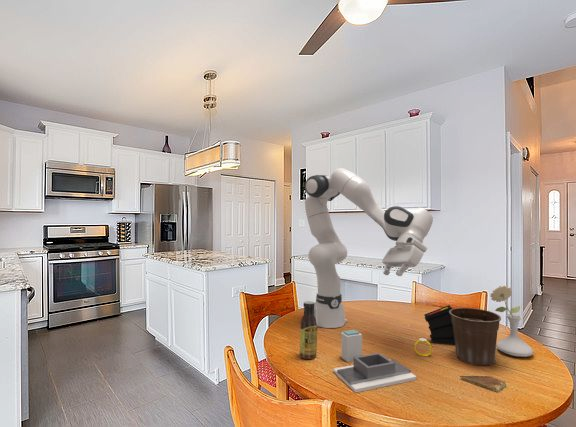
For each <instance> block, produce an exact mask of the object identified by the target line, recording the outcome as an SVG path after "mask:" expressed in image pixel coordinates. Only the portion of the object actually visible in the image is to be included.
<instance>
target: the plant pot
mask: <svg viewBox="0 0 576 427" xmlns="http://www.w3.org/2000/svg"><path fill="white" fill-rule="evenodd" d="M449 313H450V315H451V321H452V324H453V331H454V339H455V345H454V347H455V355H456V358H458V359H460V361H462V362H464V363H467V364H471V365H474V366H481V367H483V366H484V365H487V366H493V364H495V363H496V353H497V352H496V351H497V350H496V349H497V346H496V345H497V339H498V331H499V330H500V329H499V328H500V321H501V320H502V316H501V315H500V314H498V313H496V312H493V311H490V310H486V309H481V308H474V307H473V308H472V307H455V308H452V309H451V310H450V311H449Z"/></svg>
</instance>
